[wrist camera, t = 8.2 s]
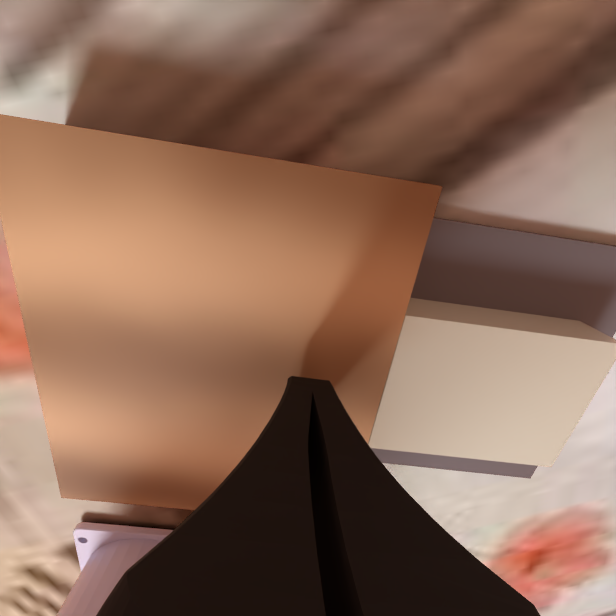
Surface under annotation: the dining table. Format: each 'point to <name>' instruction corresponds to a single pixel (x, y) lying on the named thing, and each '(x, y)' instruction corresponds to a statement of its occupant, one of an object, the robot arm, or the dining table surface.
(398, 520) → the robot arm
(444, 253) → the mat
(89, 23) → the dining table surface
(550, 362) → the tile
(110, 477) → the brown flat box
